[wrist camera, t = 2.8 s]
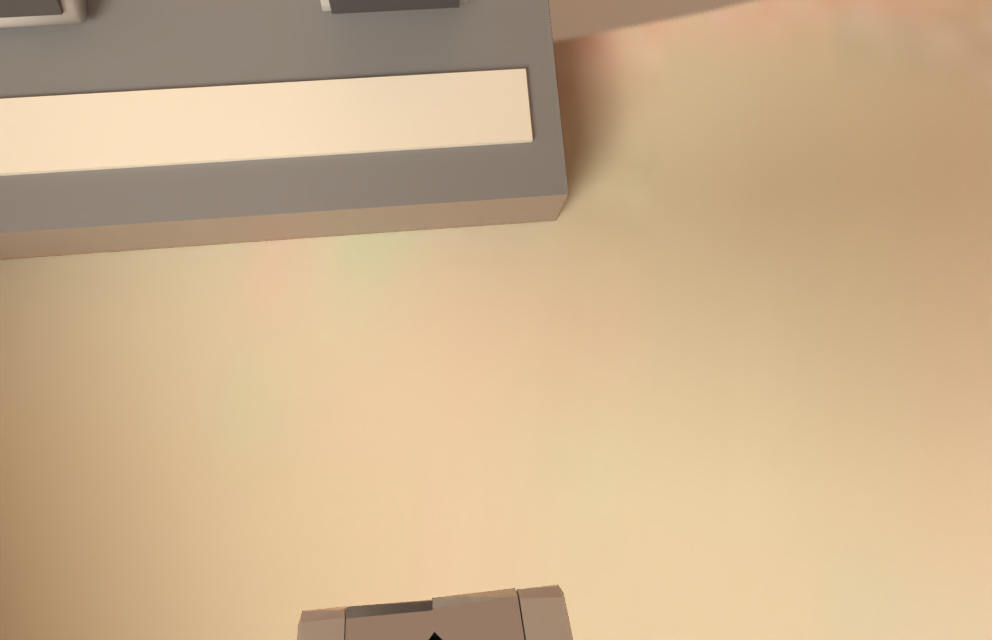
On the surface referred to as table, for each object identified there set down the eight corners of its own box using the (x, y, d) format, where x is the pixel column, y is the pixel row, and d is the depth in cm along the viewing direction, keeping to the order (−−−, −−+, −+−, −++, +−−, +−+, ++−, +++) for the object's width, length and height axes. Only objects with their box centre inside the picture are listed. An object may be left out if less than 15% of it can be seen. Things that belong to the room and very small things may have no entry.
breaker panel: (514, -191, 35) (522, -260, 31) (555, 220, 32) (569, 192, 29) (-94, -169, 33) (-153, -240, 30) (-97, 266, 31) (-162, 242, 27)
